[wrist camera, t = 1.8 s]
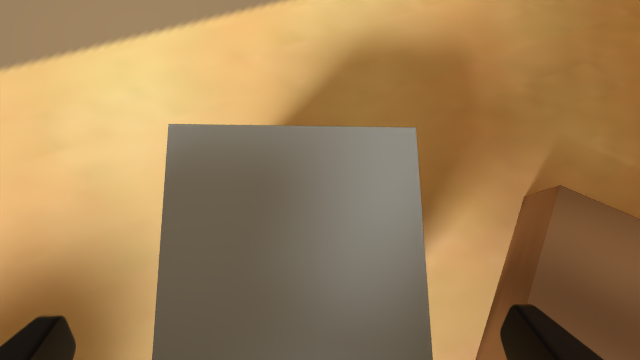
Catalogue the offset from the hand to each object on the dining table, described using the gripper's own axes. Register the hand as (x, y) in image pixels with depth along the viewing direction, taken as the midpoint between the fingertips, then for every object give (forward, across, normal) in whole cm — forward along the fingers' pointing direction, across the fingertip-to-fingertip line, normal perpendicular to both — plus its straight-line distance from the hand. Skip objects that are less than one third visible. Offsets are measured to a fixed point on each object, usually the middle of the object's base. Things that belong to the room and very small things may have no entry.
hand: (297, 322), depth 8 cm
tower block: (+7, 0, +6) cm, 9 cm away
